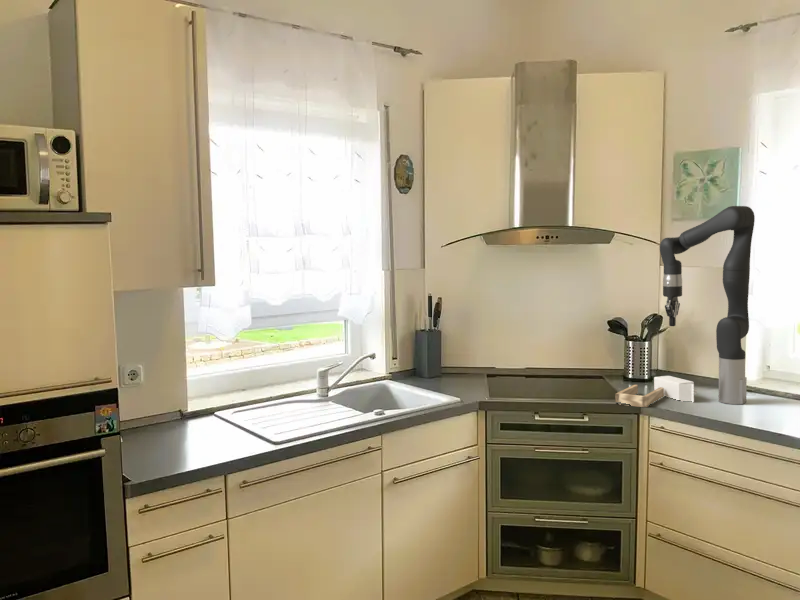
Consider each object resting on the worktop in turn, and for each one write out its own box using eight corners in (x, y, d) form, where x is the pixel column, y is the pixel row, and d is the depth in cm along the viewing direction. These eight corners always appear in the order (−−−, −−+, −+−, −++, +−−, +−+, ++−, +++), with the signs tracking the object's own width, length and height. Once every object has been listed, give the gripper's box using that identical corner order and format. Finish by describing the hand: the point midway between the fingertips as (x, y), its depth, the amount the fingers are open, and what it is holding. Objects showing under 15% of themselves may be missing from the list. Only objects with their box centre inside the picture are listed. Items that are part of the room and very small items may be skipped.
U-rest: (663, 397, 275) (663, 387, 274) (646, 407, 259) (646, 397, 259) (634, 394, 282) (634, 384, 282) (615, 403, 266) (615, 393, 266)
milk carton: (653, 393, 282) (686, 403, 264) (653, 376, 281) (686, 385, 263) (668, 392, 284) (701, 401, 266) (668, 375, 283) (701, 383, 265)
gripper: (676, 286, 279) (676, 328, 280) (686, 284, 289) (686, 324, 290) (658, 286, 283) (658, 327, 285) (668, 284, 294) (668, 324, 295)
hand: (672, 326), depth 288 cm, fingers closed
